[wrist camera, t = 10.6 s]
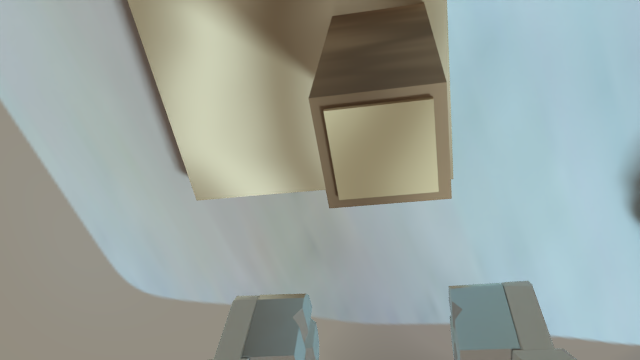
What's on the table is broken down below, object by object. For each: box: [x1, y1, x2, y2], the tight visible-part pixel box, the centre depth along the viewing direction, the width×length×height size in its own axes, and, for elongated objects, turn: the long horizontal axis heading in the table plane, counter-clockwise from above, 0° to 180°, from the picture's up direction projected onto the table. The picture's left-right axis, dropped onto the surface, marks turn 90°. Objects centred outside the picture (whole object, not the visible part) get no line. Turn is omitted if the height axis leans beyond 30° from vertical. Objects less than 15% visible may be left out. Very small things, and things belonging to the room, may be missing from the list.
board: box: [127, 0, 453, 200], centre depth 25 cm, size 14×14×2 cm
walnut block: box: [308, 3, 452, 208], centre depth 20 cm, size 4×4×9 cm
